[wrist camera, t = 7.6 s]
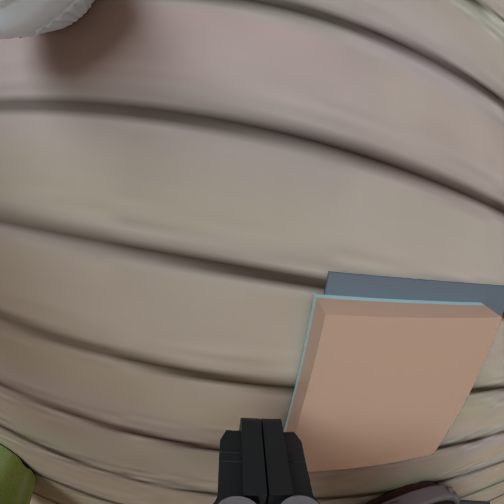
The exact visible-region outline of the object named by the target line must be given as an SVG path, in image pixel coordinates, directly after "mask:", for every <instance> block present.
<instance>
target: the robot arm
mask: <svg viewBox="0 0 504 504" xmlns="http://www.w3.org/2000/svg"><path fill="white" fill-rule="evenodd" d="M305 461H306V460H305V456H304V451H303V446H302V442H301V440H300V439H299V438H298V436H297V435H296V434H295V432H283V427H282V421H281V419H261V420H260V419H254V418H241V420H240V428H239V431H231V430H226V432H225V433H224V435H223V437H222V438H221V440H220V454H219V475H218V496H217V499H216V501H215V502H214V503H213V504H320V503H319V502H318V501H317V500H316V499H315V498H314V496H313V493H312V489H311V484H310V479H309V475H308V470H307V465H306V463H305Z"/></svg>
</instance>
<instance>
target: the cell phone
mask: <svg viewBox="0 0 504 504" xmlns="http://www.w3.org/2000/svg"><path fill="white" fill-rule="evenodd" d="M459 504H490V502H485V501H469V500H460V503H459Z"/></svg>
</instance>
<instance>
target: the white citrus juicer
mask: <svg viewBox="0 0 504 504" xmlns="http://www.w3.org/2000/svg"><path fill="white" fill-rule="evenodd" d="M94 1H95V0H0V39H10V38H16V37H19V38H23V37H27V36H28V37H31V36H34V35H38V34H42V33H46V32H51V31H55V30H59V29H62V28H66V27H67V26H68V25H72V24H73V22H77V21H78V19H79V18H82V17H83V14H85V13H87V10H88V9H89V8H91V4H92V3H93V2H94Z"/></svg>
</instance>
